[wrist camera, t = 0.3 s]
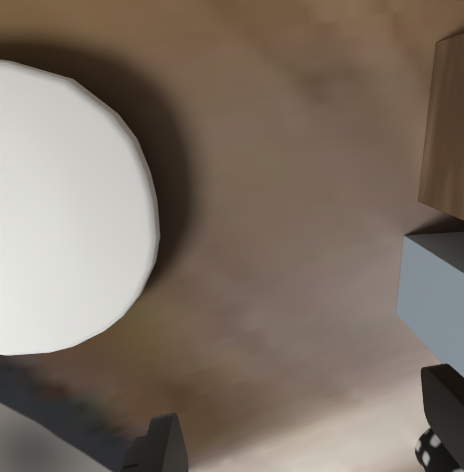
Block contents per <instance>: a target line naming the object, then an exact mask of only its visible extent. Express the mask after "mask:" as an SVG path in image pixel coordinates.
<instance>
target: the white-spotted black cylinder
mask: <svg viewBox="0 0 464 472" xmlns="http://www.w3.org/2000/svg"><path fill="white" fill-rule="evenodd" d="M415 454H416V458H417V459H418V461H419V463H420V465H421V466H422V468H423V470H424V471H425V472H464V470H463V469H462V468H461V467H460V465H459V464H458V463H457V461H456V460H455V459H454V458H453V456H452V455H451V454H450V452H449V451H448V450H447V449H446V447H445V446H444V445H443V443H442V442H441V441H440V440H439V438H438V437H437V436H436V434H435V433H434V432H433V430H432V429H431V428H430V429H429V430H427V431H426V432H425V433H424V434H423V435H422V436H421V438H420V439H419V441H418V443H417V445H416V449H415Z"/></svg>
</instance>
